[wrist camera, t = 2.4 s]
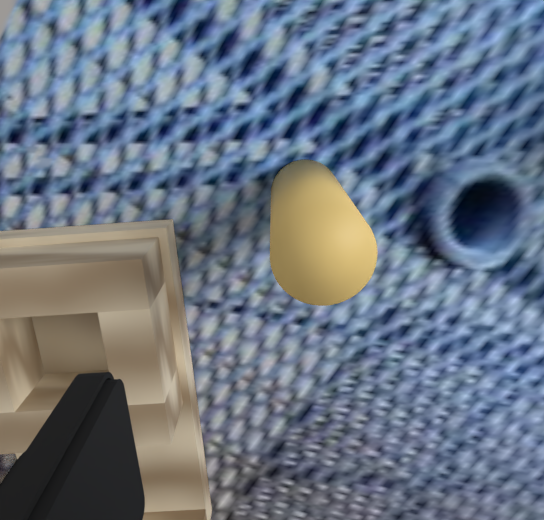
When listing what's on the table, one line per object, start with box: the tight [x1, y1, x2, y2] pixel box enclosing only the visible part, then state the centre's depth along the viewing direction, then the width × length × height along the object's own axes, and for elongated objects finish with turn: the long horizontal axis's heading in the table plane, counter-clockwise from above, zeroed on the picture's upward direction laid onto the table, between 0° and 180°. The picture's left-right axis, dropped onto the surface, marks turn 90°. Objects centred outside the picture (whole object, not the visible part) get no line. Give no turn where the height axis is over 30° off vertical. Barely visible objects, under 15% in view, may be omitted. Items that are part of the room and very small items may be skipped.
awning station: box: [0, 219, 212, 520], centre depth 27 cm, size 22×13×17 cm, turn 4°
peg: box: [270, 160, 377, 305], centre depth 25 cm, size 4×4×12 cm
